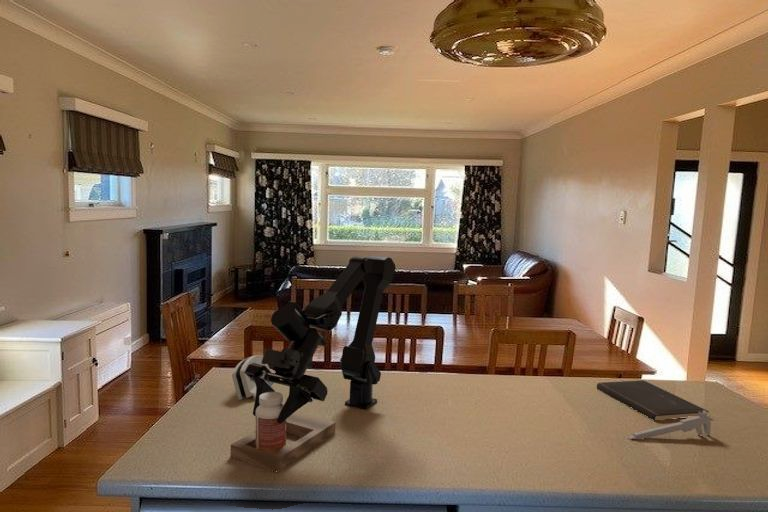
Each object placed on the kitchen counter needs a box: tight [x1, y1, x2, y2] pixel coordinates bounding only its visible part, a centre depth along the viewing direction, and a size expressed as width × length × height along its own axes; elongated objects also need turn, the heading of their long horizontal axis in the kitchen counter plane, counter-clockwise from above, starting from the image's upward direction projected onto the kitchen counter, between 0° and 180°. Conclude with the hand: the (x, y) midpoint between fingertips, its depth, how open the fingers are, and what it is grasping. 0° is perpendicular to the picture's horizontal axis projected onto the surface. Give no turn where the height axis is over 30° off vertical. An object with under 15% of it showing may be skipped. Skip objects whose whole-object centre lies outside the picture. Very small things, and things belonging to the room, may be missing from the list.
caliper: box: [627, 410, 712, 440], centre depth 114 cm, size 20×1×6 cm, turn 99°
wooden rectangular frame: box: [230, 411, 336, 473], centre depth 106 cm, size 20×12×2 cm, turn 151°
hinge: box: [231, 354, 275, 401], centre depth 138 cm, size 17×5×10 cm, turn 173°
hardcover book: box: [596, 379, 710, 421], centre depth 136 cm, size 16×23×2 cm
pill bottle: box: [254, 391, 287, 454], centre depth 101 cm, size 6×6×11 cm
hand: (266, 419), depth 100 cm, fingers closed on pill bottle, 6 cm apart
